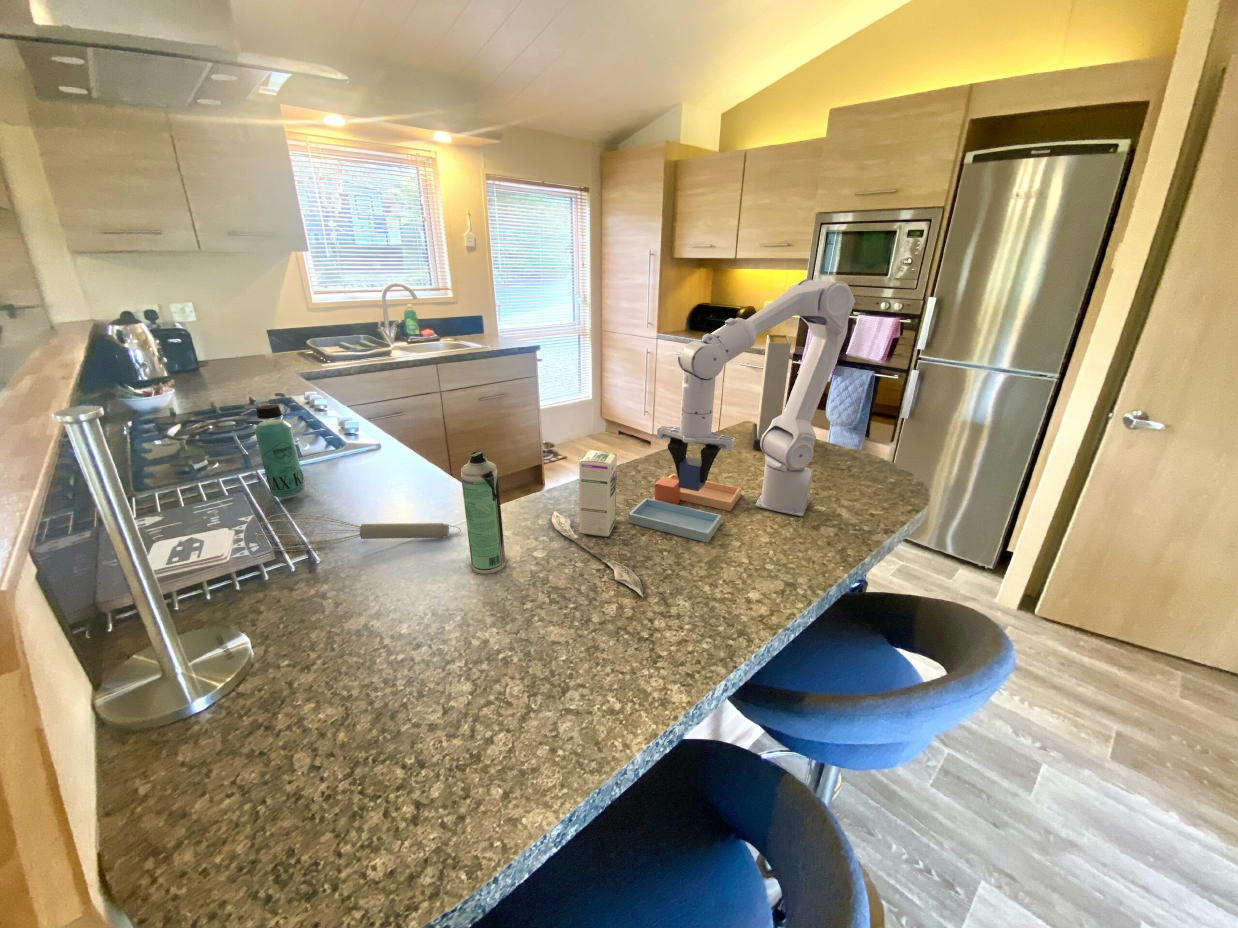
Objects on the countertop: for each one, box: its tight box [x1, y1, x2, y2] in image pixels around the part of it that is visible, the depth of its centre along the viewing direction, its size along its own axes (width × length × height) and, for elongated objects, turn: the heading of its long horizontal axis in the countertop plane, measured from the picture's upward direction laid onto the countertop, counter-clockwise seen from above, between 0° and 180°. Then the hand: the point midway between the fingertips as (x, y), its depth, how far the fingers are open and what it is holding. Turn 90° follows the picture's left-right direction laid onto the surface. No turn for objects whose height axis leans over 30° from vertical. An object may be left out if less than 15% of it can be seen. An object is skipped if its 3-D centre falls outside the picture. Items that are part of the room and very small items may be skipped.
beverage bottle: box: [253, 403, 306, 498], centre depth 105 cm, size 6×7×20 cm
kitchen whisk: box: [253, 512, 462, 552], centre depth 91 cm, size 6×34×6 cm, turn 99°
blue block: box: [678, 455, 705, 491], centre depth 98 cm, size 4×4×5 cm
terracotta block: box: [654, 476, 681, 505], centre depth 106 cm, size 4×4×5 cm
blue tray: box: [628, 497, 723, 544], centre depth 99 cm, size 16×8×2 cm, turn 62°
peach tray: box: [667, 473, 742, 512], centre depth 111 cm, size 16×8×2 cm, turn 62°
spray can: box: [460, 450, 506, 575], centre depth 82 cm, size 6×6×20 cm
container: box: [752, 334, 792, 451], centre depth 138 cm, size 7×18×30 cm, turn 167°
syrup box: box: [578, 450, 618, 538], centre depth 95 cm, size 6×6×14 cm
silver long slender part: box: [551, 510, 644, 598], centre depth 90 cm, size 32×1×5 cm
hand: (692, 478), depth 98 cm, fingers closed on blue block, 4 cm apart
